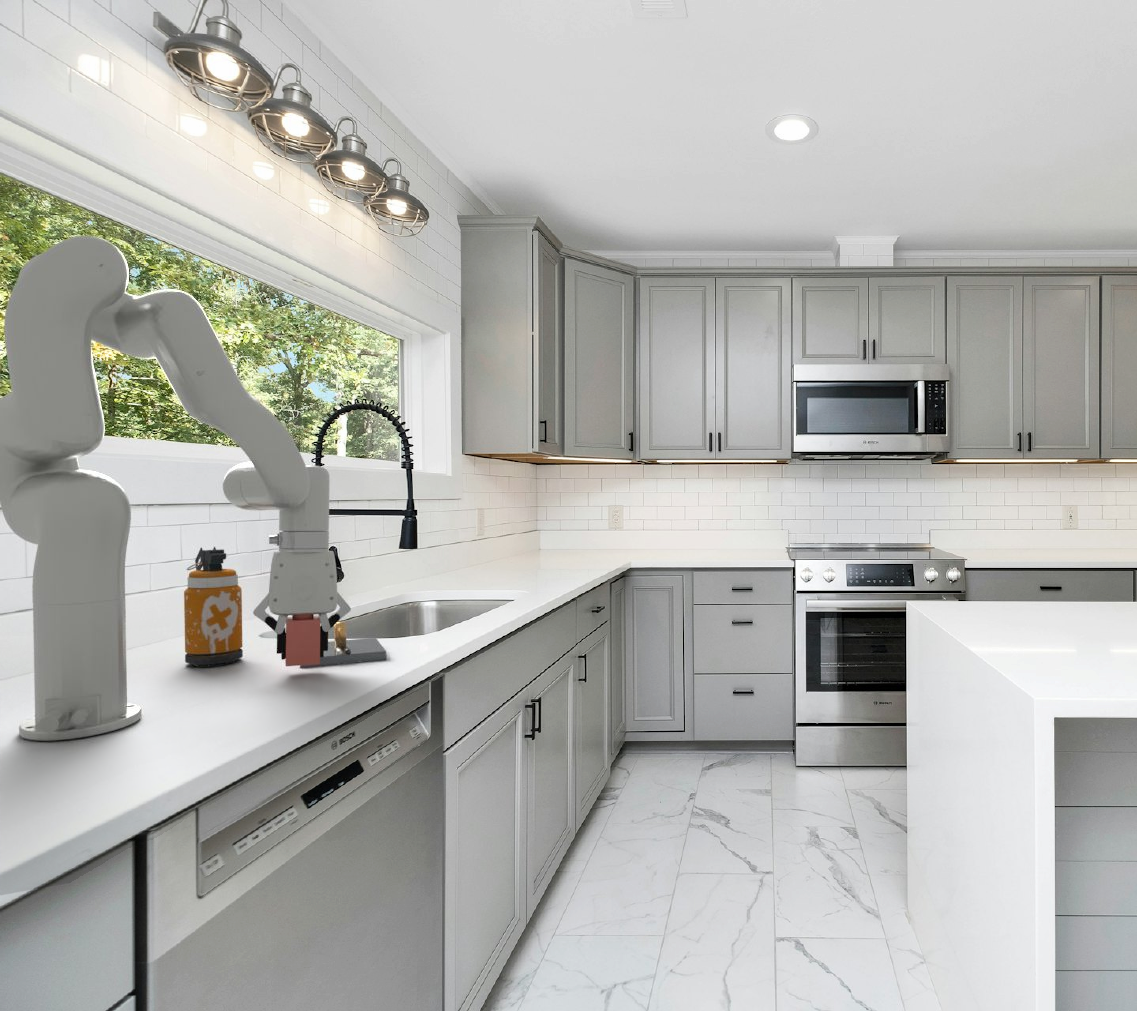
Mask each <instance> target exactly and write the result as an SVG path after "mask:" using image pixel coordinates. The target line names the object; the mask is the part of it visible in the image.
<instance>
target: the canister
mask: <svg viewBox="0 0 1137 1011" xmlns="http://www.w3.org/2000/svg"><path fill="white" fill-rule="evenodd" d="M226 559H227V553H225V549H221V548H220V549H217V548H216V546H214V547H213V549H205V550H204V549H203V547H200V549H199V551H198V553H197V555H196V557H195V559H194V564H192V565H190V566H189V567H186V571H190V572H189V573H188V576H187V588H186V589H185V590H184V592H183V602H184V603H183V604H184V605H183V608H184V609H183V610H184V611H183V613H184V652H185V654H184V660H185V663H186V664H189V665H193V666H194V667H201V668H204V667H205V668H206V667H207V668H208V667H211V668H212V667H220V666H224V665H229V664H232V663H234V662H235V661H236V660H239V659H242V658H243V651H244V650H243V649H242V648H243V599H242V598H243V596H242V595H243V592H242V587H241V586H240V585H239V578H238V577H239V576H238V573H237V570H235V569H232V568H223V564H224V560H226ZM193 569H195V570H193ZM191 570H193V571H191Z"/></svg>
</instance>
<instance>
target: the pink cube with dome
mask: <svg viewBox="0 0 1137 1011" xmlns="http://www.w3.org/2000/svg"><path fill="white" fill-rule="evenodd" d="M320 626H321V623H320V618H319V616H318V615H315V614H312V615H291V616H288V618H287V620H286V624H285V632H286V659H284V661H285V667H293V666H294V667H297V666H299V667H300V665H315V664H320Z"/></svg>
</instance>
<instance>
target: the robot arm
mask: <svg viewBox="0 0 1137 1011" xmlns="http://www.w3.org/2000/svg"><path fill="white" fill-rule="evenodd" d="M129 273H130V272H129V266H128V263H127V260H126V257H125V256H124V254H123V252H122V251H120V249H119V248H118V247H117V246H116V245H115V244H113V243H112V242H110V241H109V240H107V239H104V238H102V237H98V236H96V235H95V236H94V235H78V236H74V237H73V236H71V237H69V238H66V239H64V240H61V241H60V242H57V243H56V244H54V245H51V246H50V247H49V248H48V249H46V250H44V251H43V252H42V253H40V254H37V255H34V257H32V258H31V259H29V260H28V261H26V263H25V264H23V266H22V267H21V269H20V270H19V273H18V277H17V280H16V283H15V284H14V286H13V288H12V290H11V293H10V296H9V298H8V301H7V304H6V309H5V315H4V324H3V326H4V328H3V330H4V332H3V334H4V335H3V336H4V344H5V351H6V357H7V367H8V373H9V380H10V386H11V387H10V388H11V391H9V392H8V393H7V394H5V395H3V396H2V397H1V398H0V508H1V511H2V515H3V517H4V519H5V520H4V521H5V522H6V524H7V526H9V528H10V530H12V532H13V533H14V534H15V535H16V536H17V537H19V538H20V539H22V540H24V541H25V542H28V543H31V544H33V545H37V547H36V548H37V549H36V553H35V558H34V564H33V572H32V589H31V590H32V591H31V592H32V620H33V621H32V624H33V626H32V628H33V630H32V631H33V670H34V673H33V677H34V679H33V680H34V684H33V685H34V686H33V687H34V716H31V717H29V718H27V719H25V720H24V721H23V722H22V723H20V724H19V727H18V730H19V731H18V734H19V736H20V737H21V738H23V739H26V740H29V741H30V740H31V741H44V742H45V741H48V742H49V741H63V740H64V741H65V740H73V739H80V738H87V737H91V736H92V737H93V736H97V735H101V734H102V735H103V734H106V733H109V732H110V733H111V732H113V731H117V730H120V729H123V728H126V727H129V726H131V725H133V724H134V723H136V722H138V721H139V720H140V719H141V718H142V716H143V715H142V707H141V706H139V705H137V704H134V703H129V702H128V678H127V676H128V675H127V674H128V671H127V670H128V669H127V666H128V665H127V620H126V618H127V617H126V575H125V574H126V559H127V558H126V555H127V549H128V548H127V547H128V541H129V537H130V536H129V535H130V531H131V521H132V509H131V503H130V501H129V498H128V496H127V494H126V492H125V490H124V489H123V487H122V486H121V485H120V484H119V483H118V482H116V481H115V479H114V478H113V479H112V478H111V477H110V476H107V475H105V474H103V473H101V472H100V473H99V472H97V471H94V470H93V471H92V470H85V469H80V465H79V461H78V460H79V458H82V457H85V456H87V455H88V454H91V453H92V452H93V451H95V450H96V449H97V448H98V447H99V446H100V445H101V444H102V441H103V440H104V436H105V432H106V430H105V426H106V425H105V419H104V418H105V417H104V413H103V409H102V403H101V398H100V392H99V389H98V388H99V387H98V382H97V377H96V376H97V375H96V372H95V366H94V359H93V350H92V341H93V342H95V343H98V344H100V345H102V346H105V347H107V348H110V349H112V350H114V351H116V352H118V353H119V352H120V353H123V354H125V355H127V356H130V357H132V358H133V357H134V358H137V359H142V360H153V359H155V360H156V362H157V364H158V365H159V366H160V368H161V370H162V372H163V374H164V376H165V378H166V379H167V381H168V382H169V384H170V386H171V388H172V389H173V392H174V393H175V395H176V397H177V398H178V400H179V403H180V404H181V406H182V408H183V409H184V411H185V412H186V414H188V415H189V416H191V417H192V418H194V419H196V420H198V421H199V422H202V423H203V424H205V425H207V426H209V427H211V428H214V429H216V430H217V431H219V432H221V433H223V434H224V435H225V436H227V437H228V438H230V439H231V440H232V441H233V442H234V443H236V444H237V446H239V447H240V449H241V450H242V451H243V452H244V454H245V455H246V456H247V458H248V459H249V460H250V461H246V462H242V463H239V464H237V465H235V466H233V467H232V468H230V469H229V470H228V471H227V472H226V474H225V476H224V478H223V481H222V492H223V494H224V496H225V498H226V499H227V501H229V502H230V504H231V505H234V506H235V507H237V508H240V509H241V510H245V511H276V510H277V511H279V513H278V519H279V520H278V531H279V532H278V533H276V534H274V535H269V536H268V544H269V545H275V546H276V547H278V551H274V552H273V553H272V554H273V555H272V558H271V559H272V560H271V563H270V571H269V572H270V574H269V583H268V593H267V594H266V595H265V597H264V598H263V599H262V600H261V601H260V602H259V603H258V605H257V606H256V607H255V608H254V609H253V612H252V614H253V616H255V617H256V618H257V619H259V620H261V621H262V622H263V623H265V624H266V625H267V626H269V627H270V629H271V630H273V631H274V632H275V634H276V654H278V655H279V654H281V655H280V656H281V660H282V661H283V660H285V659H286V620H287V618H288V617H289V616H292V615H312V614H314V615H317V616H319V618H320V657H324V651H328V642H329V632H330V630H331V629H332V628H334V625H335V624H336V623H337V622H340V620H341V619H342V618H344V617H345V616H346V615H347V614H349V613H350V612H351V610H352V608H351V606H350V605H349V603H347V602H346V600H345V599H344V598H343V597H342V596H341V594H340V593H339V592H338V576H337V563H336V558H335V553H334V551H333V550H329V549H330V548H329V546H330V545H329V541H330V539H329V538H330V536H329V535H330V530H329V528H330V473H329V471H328V470H327V469H326V468H325V467H323V466H318V465H309V464H307V465H306V462H305V461H304V458H303V455H301V452H300V450H299V448H298V447H297V446H298V445H297V444H296V442H295V441H294V439H293V437H292V436H291V434H290V432H289V431H288V429H287V428H286V427H285V426H284V424H283V423H282V422H281V421H280V420H279V419H278V418H277V417H276V416H275V415H274V414H273V413H272V412H271V411H270V410H269V409H267V407H266V406H265V405H264V404H262V402H260V401H259V399H257V398H256V397H254V396H253V395H252V394H251V393H250V392H249V391H248V390H247V389H246V388H245V387H244V385H243V383H242V381H241V380H240V378H239V376H238V374H237V372H236V371H235V368H234V366H233V365H232V362H231V360H230V358H229V356H228V355H227V353H226V351H225V349H224V347H223V345H222V343H221V341H220V339H219V338H218V337H219V336H217V333H216V332H215V330H214V328H213V325H212V324H211V321H210V320H209V318H208V316H207V315H206V312H205V311H204V309H203V307H202V305H201V304H200V302H198V300H196V298H195V297H194V296H192V294H191V295H190V294H189V293H188V292H185V291H182V290H178V289H163V290H157V291H153V292H150V293H147V294H143V295H140V296H136V295H134V294H130V293H128V292H126V290H127V288H128V284H129V277H130V275H129ZM337 606H338V607H339V608H338V609H337ZM267 608H268V609H269V611H270V613H271V614H273V615H276V616H278V617H277V619H275V617H273V616H272V615H270V614H269V613H267V612H266V609H267ZM336 610H337V611H336ZM334 611H335V612H334ZM333 612H334V613H333ZM331 613H332V614H331ZM328 614H331V615H330V616H329V617H328Z"/></svg>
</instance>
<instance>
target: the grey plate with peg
mask: <svg viewBox="0 0 1137 1011" xmlns="http://www.w3.org/2000/svg"><path fill="white" fill-rule="evenodd" d="M333 628H334V631H333V632H334V636H333V637H334V640H332V641H331V640H330V641H328V651H324V657H320V664H315V665H300V666H299V668H301V669H303V668H312V667H313V668H314V667H320V666H321V667H322V666H333V665H343V664H344V663H345V664H353V662H356V663H360V662H359V661H367V662H377V661H385V660H387V651H386V649H385V648H384V646H383V645H382V644H381V642H380V641H379V640H378V639H377V638H376V637H369V638H356V639H355V638H354V639H347V622H346V621H340V620H339V621H338V622H337V623H336V624H335V625H334V626H333ZM345 664H344V665H345Z"/></svg>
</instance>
